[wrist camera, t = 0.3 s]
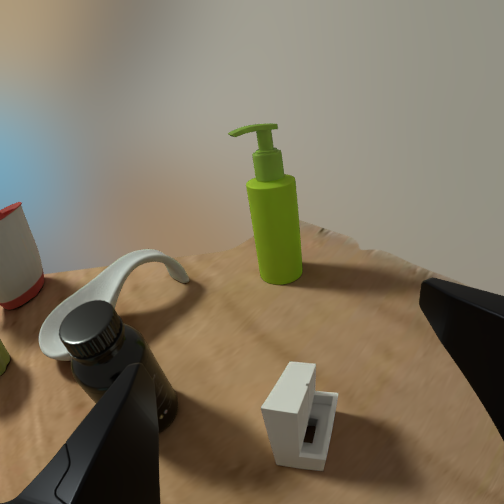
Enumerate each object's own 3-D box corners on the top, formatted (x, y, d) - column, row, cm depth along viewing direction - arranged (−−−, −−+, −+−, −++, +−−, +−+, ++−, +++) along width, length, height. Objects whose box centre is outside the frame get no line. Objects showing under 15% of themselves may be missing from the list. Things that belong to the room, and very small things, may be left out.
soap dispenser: (247, 270, 42) (222, 128, 32) (291, 256, 44) (276, 119, 34) (262, 292, 37) (236, 130, 27) (310, 276, 39) (297, 121, 29)
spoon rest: (63, 389, 26) (29, 347, 22) (43, 342, 33) (19, 303, 29) (205, 290, 40) (193, 244, 36) (161, 266, 47) (149, 228, 44)
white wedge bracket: (255, 507, 13) (260, 408, 13) (290, 431, 22) (298, 346, 22) (310, 517, 12) (334, 417, 12) (330, 436, 21) (344, 349, 21)
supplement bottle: (105, 413, 23) (36, 327, 17) (148, 372, 28) (99, 281, 22) (147, 453, 19) (67, 371, 13) (195, 403, 24) (145, 307, 18)
